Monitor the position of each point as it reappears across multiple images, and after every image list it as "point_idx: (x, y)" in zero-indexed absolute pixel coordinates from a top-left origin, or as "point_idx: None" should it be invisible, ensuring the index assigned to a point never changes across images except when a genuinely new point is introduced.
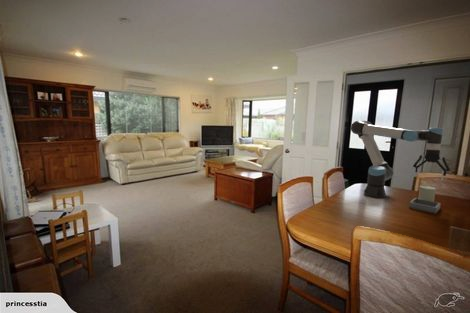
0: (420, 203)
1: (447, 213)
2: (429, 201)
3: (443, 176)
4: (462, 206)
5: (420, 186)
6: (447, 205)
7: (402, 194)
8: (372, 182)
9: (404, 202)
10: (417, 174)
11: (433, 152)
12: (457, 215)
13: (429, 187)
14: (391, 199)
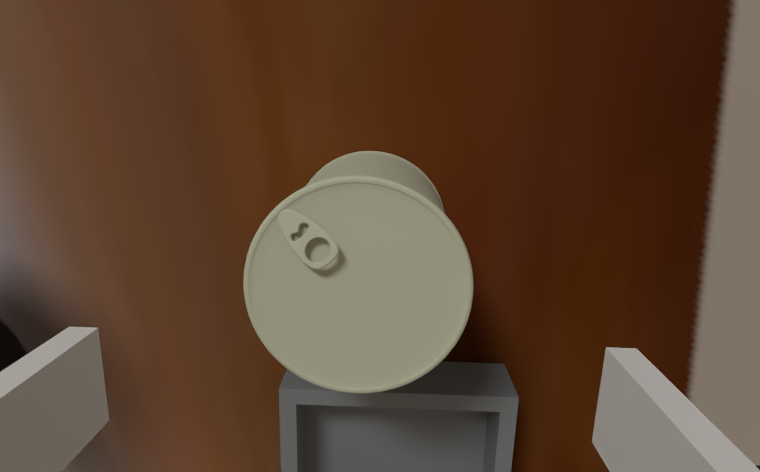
0: None
1: (562, 453)
2: (420, 407)
3: (694, 414)
4: (701, 60)
5: (257, 308)
6: (562, 160)
7: (89, 54)
8: None
9: (221, 400)
10: (47, 468)
11: None
12: None
13: (378, 261)
14: None
